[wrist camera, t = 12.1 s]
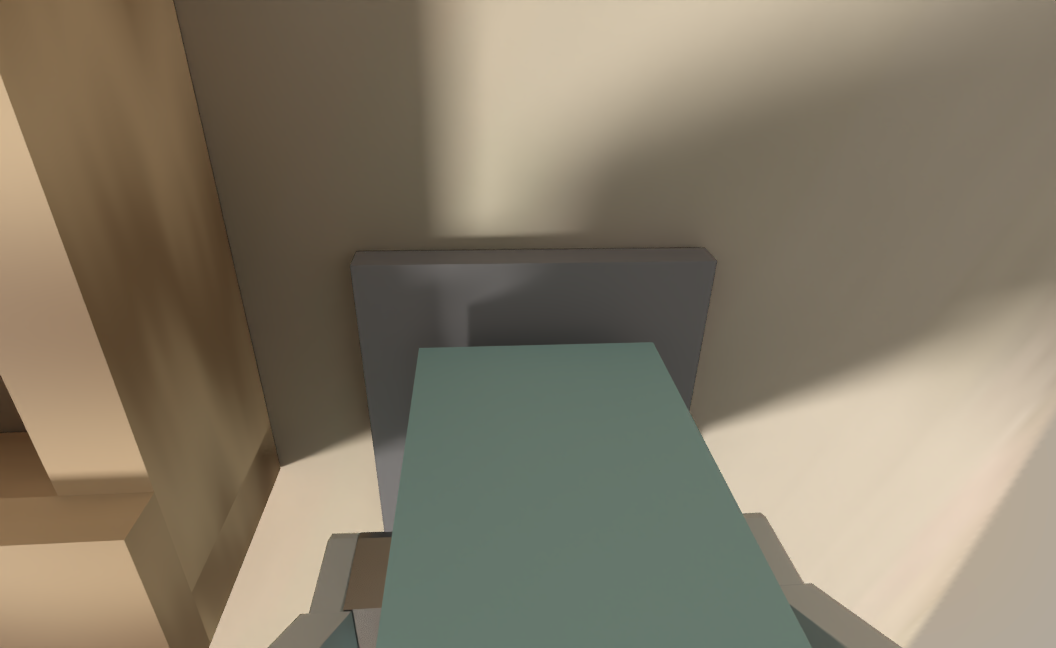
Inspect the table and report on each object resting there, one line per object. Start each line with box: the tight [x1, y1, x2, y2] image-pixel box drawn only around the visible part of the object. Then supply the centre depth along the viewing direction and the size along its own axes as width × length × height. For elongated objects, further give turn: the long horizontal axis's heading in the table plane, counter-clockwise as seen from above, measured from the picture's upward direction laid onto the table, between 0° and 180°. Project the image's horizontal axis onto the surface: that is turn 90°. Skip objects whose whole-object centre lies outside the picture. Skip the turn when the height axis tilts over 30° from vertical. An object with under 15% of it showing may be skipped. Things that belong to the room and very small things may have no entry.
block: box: [376, 342, 812, 648], centre depth 11 cm, size 5×5×7 cm
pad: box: [350, 248, 717, 532], centre depth 15 cm, size 8×8×1 cm
